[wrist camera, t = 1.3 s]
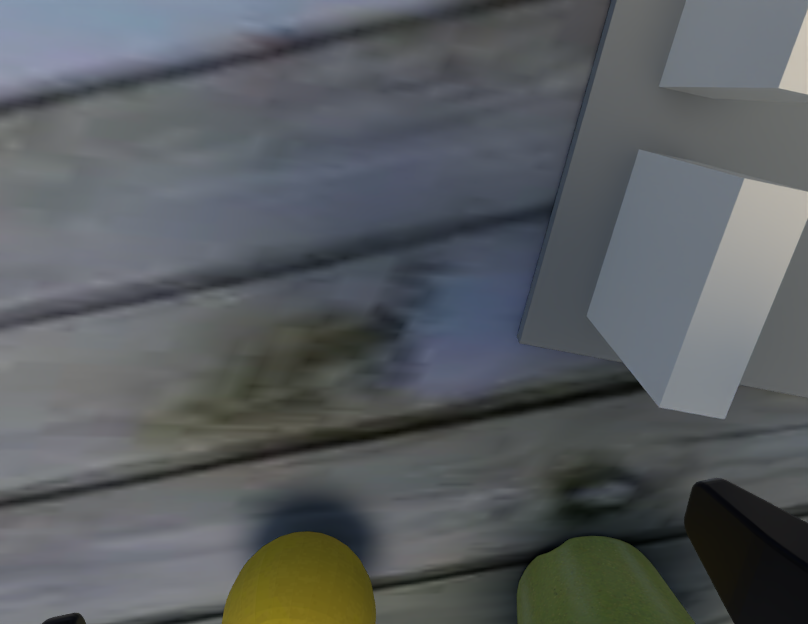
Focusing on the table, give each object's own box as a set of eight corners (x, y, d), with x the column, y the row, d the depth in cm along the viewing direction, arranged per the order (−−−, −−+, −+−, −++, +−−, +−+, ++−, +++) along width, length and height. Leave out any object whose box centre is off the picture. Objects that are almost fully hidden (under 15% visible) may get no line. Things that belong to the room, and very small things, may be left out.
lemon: (404, 533, 27) (405, 704, 20) (333, 618, 29) (309, 808, 21) (292, 468, 26) (248, 623, 19) (224, 560, 28) (158, 738, 20)
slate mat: (1132, -79, 20) (1153, -83, 19) (887, 407, 25) (898, 415, 25) (666, -197, 19) (675, -205, 18) (516, 337, 24) (519, 343, 24)
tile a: (696, 161, 22) (825, 195, 15) (639, 326, 24) (731, 420, 17) (639, 149, 21) (744, 178, 15) (586, 316, 23) (659, 407, 17)
